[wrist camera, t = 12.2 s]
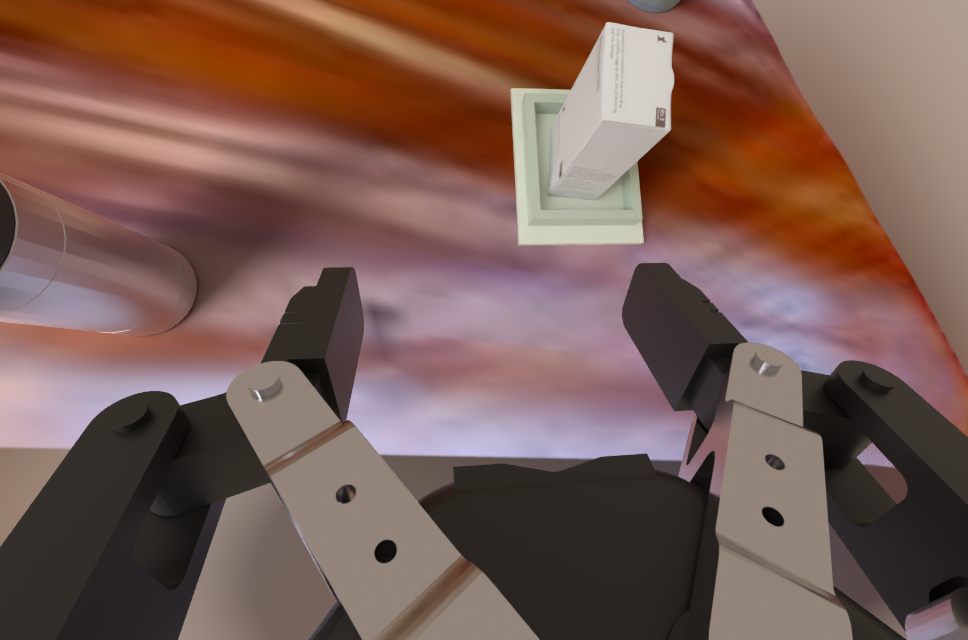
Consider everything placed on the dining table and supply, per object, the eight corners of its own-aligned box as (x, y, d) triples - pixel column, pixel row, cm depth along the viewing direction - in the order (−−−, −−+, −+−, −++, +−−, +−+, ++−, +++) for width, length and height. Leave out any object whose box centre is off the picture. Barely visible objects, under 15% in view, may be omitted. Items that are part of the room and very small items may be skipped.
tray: (518, 245, 44) (523, 238, 41) (510, 91, 46) (514, 75, 43) (641, 244, 45) (653, 237, 43) (628, 95, 47) (638, 79, 45)
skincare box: (549, 128, 45) (601, 13, 31) (601, 134, 46) (676, 25, 31) (546, 200, 44) (598, 117, 30) (599, 205, 45) (676, 126, 30)
